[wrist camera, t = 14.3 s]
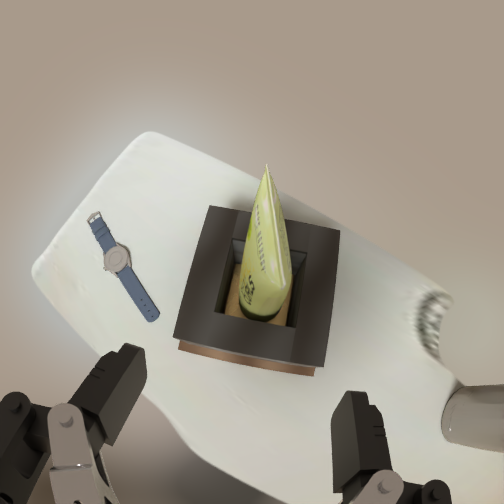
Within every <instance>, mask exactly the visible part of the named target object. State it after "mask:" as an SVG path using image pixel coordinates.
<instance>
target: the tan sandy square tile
mask: <svg viewBox="0 0 504 504" xmlns="http://www.w3.org/2000/svg"><path fill="white" fill-rule="evenodd" d="M241 265H242V264H237V263H236V266H235V271H234V275H233V279H232V283H231V288H230V292H229V296H228V301H227V305H226V309H225V314H226V315H230V316H235V317H240V318H245V319H248V318H247V317H246V316H245V315H244V314H243V313H242V311H241V309H240V305H239V281H240V272H241ZM293 277H294V275H293V274H292V278H291V284H290V288H289V291H288V294H287V296H286V299H285V301H284V303H283V305H282V308H281V310H280V311H279V313H278V314H277V315H276V316H275V317H274V318H273V319H271V320H269V321H267V322H265V323H270V324H275V325H281V326H285V324H286V318H287V313H288V307H289V301H290V295H291V289H292V283H293Z"/></svg>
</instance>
